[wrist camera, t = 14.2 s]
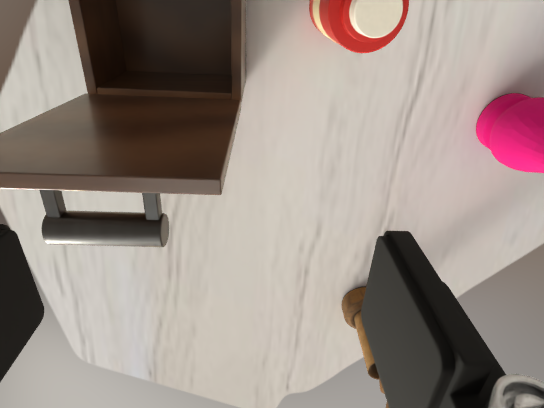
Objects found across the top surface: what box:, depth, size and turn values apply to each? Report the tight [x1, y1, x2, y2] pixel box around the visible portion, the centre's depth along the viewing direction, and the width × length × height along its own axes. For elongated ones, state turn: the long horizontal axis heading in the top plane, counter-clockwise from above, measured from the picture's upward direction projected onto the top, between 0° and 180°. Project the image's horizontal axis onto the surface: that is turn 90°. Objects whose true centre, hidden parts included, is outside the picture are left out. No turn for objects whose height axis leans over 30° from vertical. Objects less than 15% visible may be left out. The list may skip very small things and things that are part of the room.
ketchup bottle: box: [309, 0, 409, 53], centre depth 28 cm, size 6×6×14 cm
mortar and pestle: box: [342, 287, 389, 408], centre depth 46 cm, size 7×6×18 cm
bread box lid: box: [0, 94, 241, 247], centre depth 24 cm, size 16×13×5 cm
